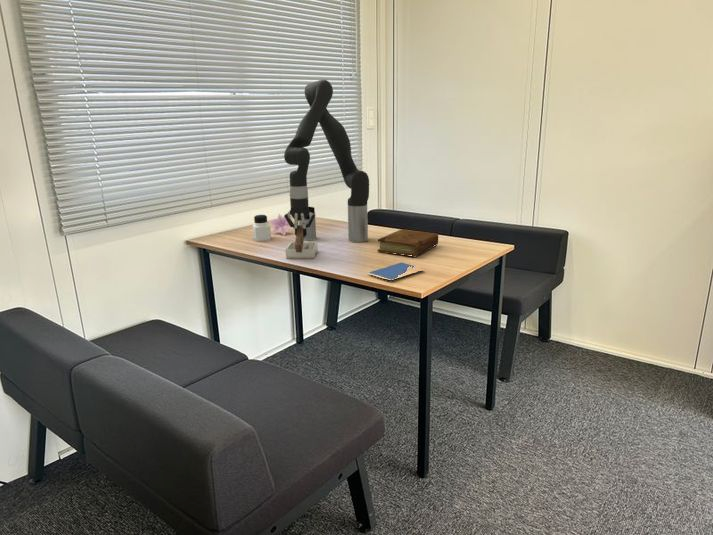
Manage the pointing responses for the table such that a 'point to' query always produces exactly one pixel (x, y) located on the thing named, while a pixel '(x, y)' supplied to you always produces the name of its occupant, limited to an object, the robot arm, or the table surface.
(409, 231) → the diary
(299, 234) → the wooden plank piece
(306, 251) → the plank slot holder tray
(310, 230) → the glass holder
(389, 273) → the blue notebook
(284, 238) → the table surface
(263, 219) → the medicine bottle
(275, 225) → the lily
